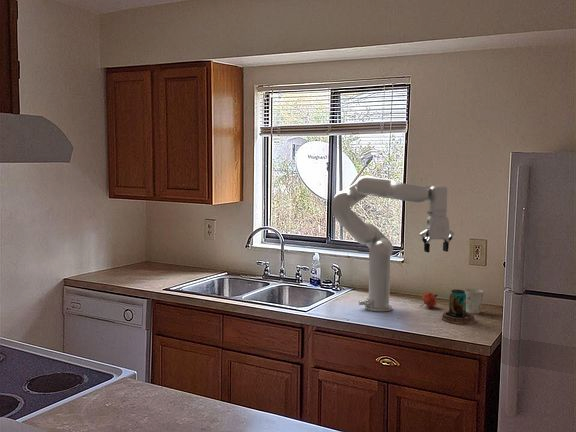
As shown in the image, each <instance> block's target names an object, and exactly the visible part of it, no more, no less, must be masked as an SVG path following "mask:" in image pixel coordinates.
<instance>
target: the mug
mask: <svg viewBox="0 0 576 432" xmlns="http://www.w3.org/2000/svg"><path fill="white" fill-rule="evenodd" d="M464 291H465V294H466V312H467V313H471V314H473V315H474V314H480V313H481V307H482V302H483V298H484V290H482V289H479V288H465V289H464Z"/></svg>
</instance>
